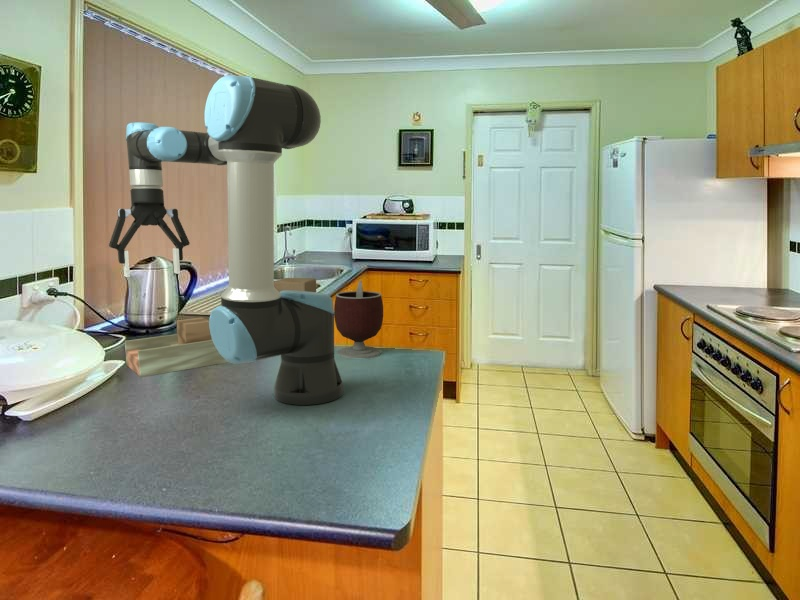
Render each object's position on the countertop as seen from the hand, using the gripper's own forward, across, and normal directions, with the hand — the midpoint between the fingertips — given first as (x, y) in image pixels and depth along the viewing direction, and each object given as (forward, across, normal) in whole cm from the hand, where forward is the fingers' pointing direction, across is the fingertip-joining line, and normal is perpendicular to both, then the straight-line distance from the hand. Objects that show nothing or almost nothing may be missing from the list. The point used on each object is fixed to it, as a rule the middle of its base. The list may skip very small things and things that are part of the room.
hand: (152, 275), depth 145 cm
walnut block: (+20, -10, 0) cm, 22 cm away
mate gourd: (+24, -50, +20) cm, 59 cm away
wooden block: (+24, -40, +1) cm, 47 cm away
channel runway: (+24, -11, 0) cm, 26 cm away
